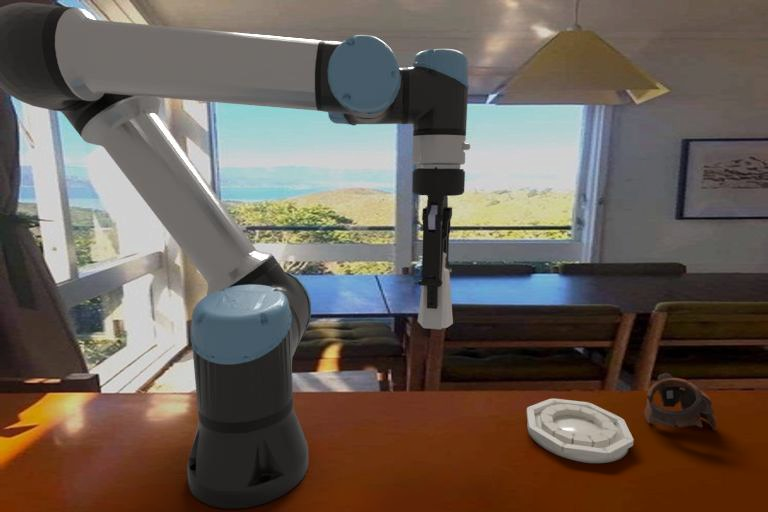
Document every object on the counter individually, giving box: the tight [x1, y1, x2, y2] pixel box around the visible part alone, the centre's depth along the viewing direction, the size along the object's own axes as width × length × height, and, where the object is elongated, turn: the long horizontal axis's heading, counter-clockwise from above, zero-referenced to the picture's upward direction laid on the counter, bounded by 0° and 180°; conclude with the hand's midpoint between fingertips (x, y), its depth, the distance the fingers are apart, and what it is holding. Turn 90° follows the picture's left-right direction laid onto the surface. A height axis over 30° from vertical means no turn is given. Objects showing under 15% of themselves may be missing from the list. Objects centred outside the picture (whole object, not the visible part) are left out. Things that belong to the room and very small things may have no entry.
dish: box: [526, 398, 635, 464], centre depth 70 cm, size 14×14×2 cm
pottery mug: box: [644, 372, 718, 431], centre depth 74 cm, size 12×10×8 cm
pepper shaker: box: [417, 252, 454, 329], centre depth 71 cm, size 5×5×11 cm
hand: (435, 321), depth 72 cm, fingers closed on pepper shaker, 5 cm apart
